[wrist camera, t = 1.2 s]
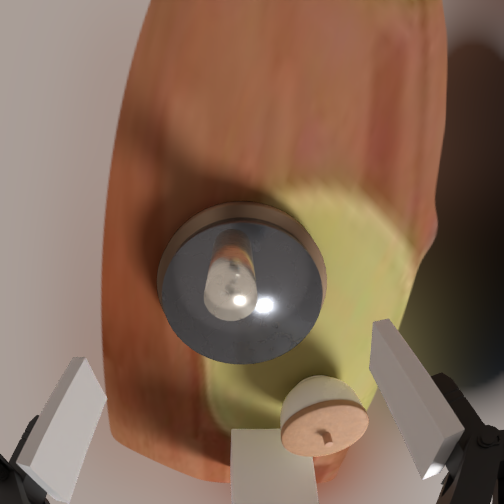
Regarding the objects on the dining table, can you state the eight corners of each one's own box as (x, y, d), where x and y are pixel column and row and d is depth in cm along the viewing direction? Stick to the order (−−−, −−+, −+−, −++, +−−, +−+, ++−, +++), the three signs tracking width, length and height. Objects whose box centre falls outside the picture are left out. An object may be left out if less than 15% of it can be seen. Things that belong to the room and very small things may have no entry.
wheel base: (315, 189, 30) (321, 193, 28) (324, 334, 36) (328, 344, 34) (143, 216, 30) (138, 222, 29) (182, 354, 36) (180, 364, 35)
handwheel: (320, 340, 34) (347, 414, 24) (186, 359, 34) (172, 435, 24) (312, 206, 28) (352, 248, 18) (149, 231, 29) (106, 284, 18)
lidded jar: (279, 362, 38) (288, 420, 29) (360, 359, 38) (384, 410, 29) (271, 417, 41) (278, 470, 33) (342, 412, 42) (358, 461, 33)
